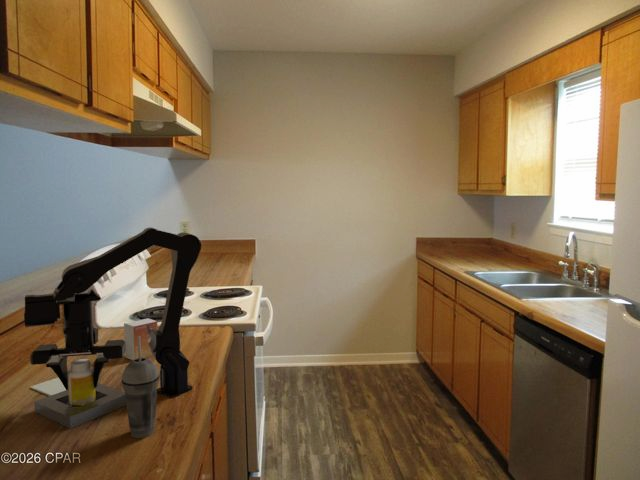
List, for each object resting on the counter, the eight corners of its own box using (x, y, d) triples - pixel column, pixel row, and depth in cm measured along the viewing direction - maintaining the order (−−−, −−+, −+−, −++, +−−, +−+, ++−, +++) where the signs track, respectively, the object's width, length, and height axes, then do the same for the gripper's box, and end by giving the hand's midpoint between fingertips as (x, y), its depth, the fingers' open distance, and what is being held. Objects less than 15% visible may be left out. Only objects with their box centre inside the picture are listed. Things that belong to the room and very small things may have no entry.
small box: (134, 361, 141) (132, 326, 140) (124, 357, 144) (123, 323, 143) (158, 354, 147) (157, 320, 146) (149, 350, 150) (147, 317, 149)
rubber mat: (97, 382, 125) (97, 381, 125) (54, 398, 116) (54, 396, 116) (72, 374, 131) (72, 372, 131) (30, 388, 122) (30, 386, 122)
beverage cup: (124, 444, 95) (120, 345, 93) (122, 428, 101) (119, 335, 99) (162, 437, 98) (159, 340, 96) (159, 421, 104) (156, 331, 102)
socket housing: (128, 403, 113) (128, 393, 113) (70, 428, 101) (70, 417, 101) (92, 390, 120) (92, 380, 120) (34, 412, 109) (34, 401, 108)
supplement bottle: (100, 404, 111) (98, 361, 110) (76, 412, 107) (73, 368, 106) (88, 397, 115) (86, 355, 114) (64, 406, 110) (62, 362, 109)
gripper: (128, 310, 119) (130, 371, 120) (44, 314, 114) (48, 378, 116) (120, 322, 108) (123, 389, 109) (27, 327, 104) (31, 397, 105)
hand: (81, 388), depth 110 cm, fingers closed on supplement bottle, 5 cm apart
